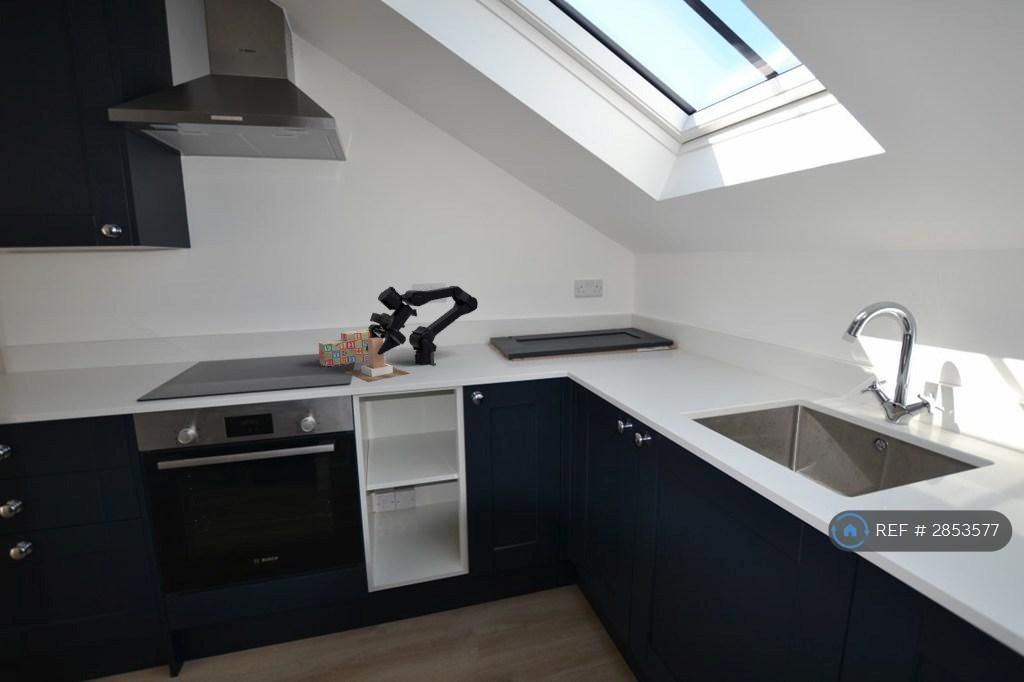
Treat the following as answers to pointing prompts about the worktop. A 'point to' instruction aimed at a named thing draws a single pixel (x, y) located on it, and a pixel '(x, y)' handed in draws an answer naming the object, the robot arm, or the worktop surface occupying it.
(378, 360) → the terracotta pillar
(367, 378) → the walnut board
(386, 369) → the white square frame
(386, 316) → the robot arm
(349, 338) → the stack of blocks
